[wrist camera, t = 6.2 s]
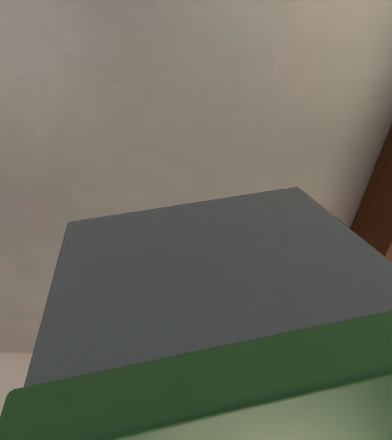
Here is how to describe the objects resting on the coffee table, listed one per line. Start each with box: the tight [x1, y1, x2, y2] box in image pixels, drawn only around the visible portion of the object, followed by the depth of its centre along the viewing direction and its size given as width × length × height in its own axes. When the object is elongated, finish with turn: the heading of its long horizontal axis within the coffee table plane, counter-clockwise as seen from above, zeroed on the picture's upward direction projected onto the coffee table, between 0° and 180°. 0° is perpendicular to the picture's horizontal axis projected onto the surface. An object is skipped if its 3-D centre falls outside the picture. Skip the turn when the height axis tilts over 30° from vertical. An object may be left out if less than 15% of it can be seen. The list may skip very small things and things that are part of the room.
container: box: [0, 187, 392, 440], centre depth 7 cm, size 6×5×5 cm
